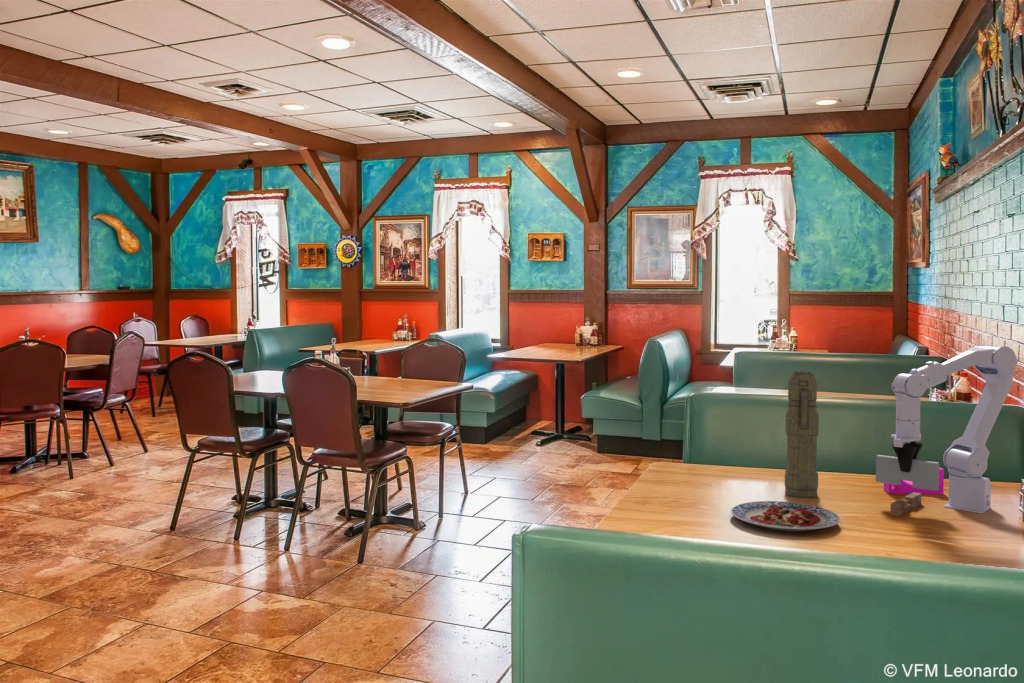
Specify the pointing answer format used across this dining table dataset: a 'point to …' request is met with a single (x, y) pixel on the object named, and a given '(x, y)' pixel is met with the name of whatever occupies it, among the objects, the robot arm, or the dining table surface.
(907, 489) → the toy block
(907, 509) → the walnut rail
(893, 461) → the slate plate
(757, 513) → the ceramic plate
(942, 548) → the dining table surface
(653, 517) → the dining table surface
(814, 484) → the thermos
